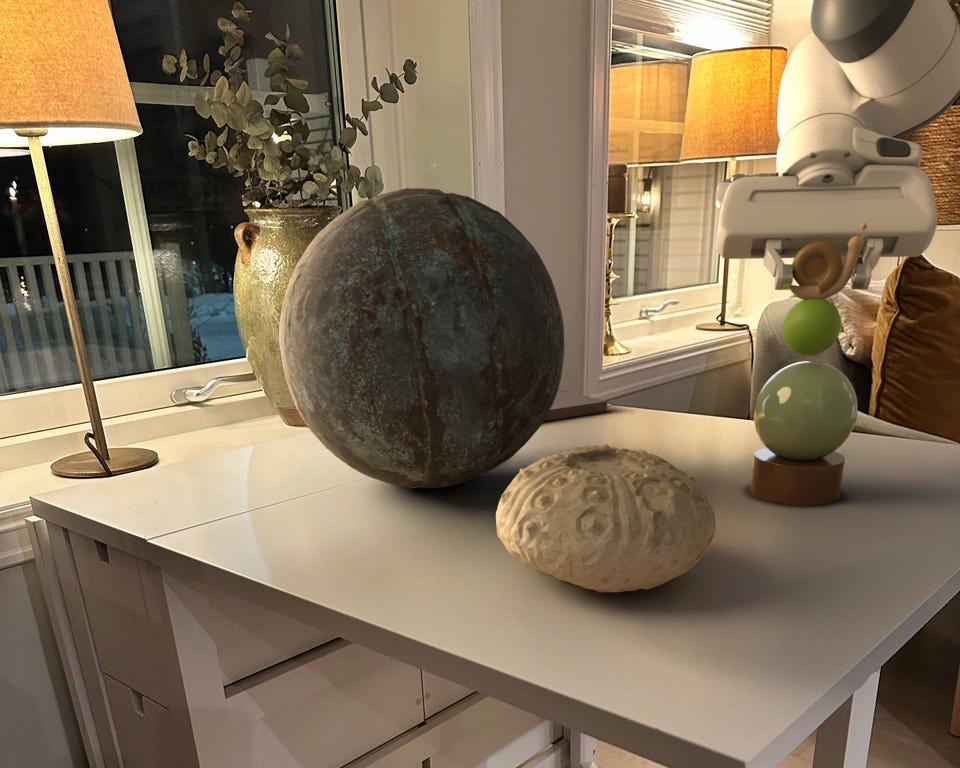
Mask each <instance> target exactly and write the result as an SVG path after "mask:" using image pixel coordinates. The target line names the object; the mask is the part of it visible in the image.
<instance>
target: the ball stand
mask: <svg viewBox="0 0 960 768" xmlns="http://www.w3.org/2000/svg"><path fill="white" fill-rule="evenodd" d="M858 404H859V403H858V398H857V393H856V390H855V388H854V385H853V384H852V382H851V381H850V380H849V378H848V377H847V375H845V374H844V373H843V371H841V370H839V369H838V368H837V367H835V366H833V365H831V364H828V363H825V362H823V361H822V362H821V361H814V360H806V361H797V362H795V363H791V364H788V365H786V366H784V367H783V368H781V369H779V370H777V371H776V372H775V373H774V374H773V375H771V376H770V377H769V378H768V380H766V382H765V383H764V384H763V386H762V387H761V389H760V390H759V392H758V395H757V397H756V400H755V404H754V409H753V424H754V428H755V431H756V433H757V436H758V438H759V440H760V442H761V443H762V444H763V446H764V447H763V448H760V449H758V450H756V451H754V454H753V463H752V472H751V473H752V474H751V482H750V493H751V495H753V497H756V498H757V499H760V500H764V501H766V502H769V503H770V502H771V503H774V504H780V505H788V506H820V505H826V504H831V503H833V502H835V501H837V500H839V498H840V495H841V490H842V489H841V488H842V482H843V475H844V470H845V464H846V463H845V462H846V457H845V456H844V455H843V454H841V453H839V452H837V450H838V449H840V447H841V446H843V444H845V442H846V441H847V440H848V439H849V437H850V435H851V433H852V432H853V430H854V428H855V425H856V422H857V419H858V409H859V406H858Z"/></svg>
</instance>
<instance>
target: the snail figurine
mask: <svg viewBox="0 0 960 768" xmlns="http://www.w3.org/2000/svg"><path fill="white" fill-rule="evenodd" d="M860 228H861V229H863V231H862V235H864V229H866V228H867V224H866V223H862V224H861V225H860ZM863 244H864V239H863V236H861V237H860V236H855V237H853V238H851V239H850V241H849V243H848V253H847V256H846V257H845V259H844V262H843V261H842V260H843V259H842V257H841V256H840V254H839V252H838V251H837V249H836V248H835V247H834V246H832V245H830V244H829V243H825V242H814V243H811V244H808V245H806V246H805V247H803V248H802V249H801V250H800V251H799V252H798V253H797V254H796V256H795V258H793V259H792V260H793V261H792V264H793V281H795V283H796V284H797V285H795V284H791V290H790V292H791V293H792V294H793V295H794V296H795V297H796V298H798V299H800V301H798V302H796V303H795V304H794V305H793V306H791V308H790V309H789V310H788V311H787V313H786V314H785V316H784V318H783V322H782V327H781V333H782V334H781V335H782V338H783V341H784V344H785V345H786V346H787V348H788V349H790V351H792V352H793V353H795V354H797V355H800V356H805V357H811V356H818V355H820V354H822V353H825V352H826V351H827V350H828V349H830V348H831V347H832V346H833V345H834V344H835V342H836V341H837V339H838V338H839V336H840V332H841V327H842V320H841V315H840V312H839V310H838V309H837V307H836V305H834V304H833V303H832V302H830V301H829V300H827V299H829V298H831V297H833V296H835V295H837V294H839V293H841V291H842V290H844V288H845V287H846V286H847V284H848V283H849V281H850V280H851V275H852V273H853V271H854V268H855V266H856V264H858V260H859V258H860V257H859V254H860V252H861V250H862V249H863Z"/></svg>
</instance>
